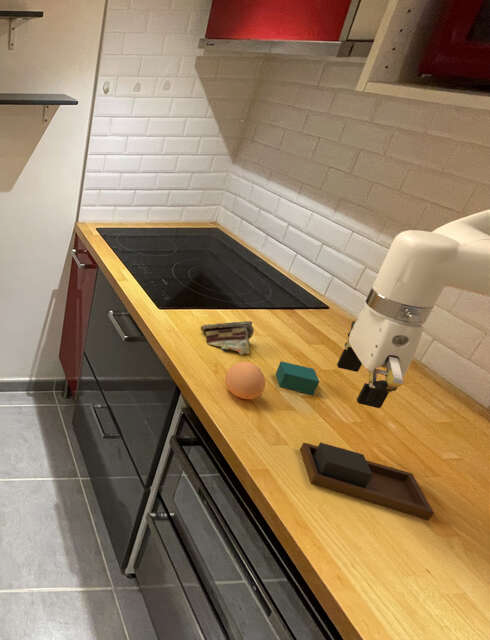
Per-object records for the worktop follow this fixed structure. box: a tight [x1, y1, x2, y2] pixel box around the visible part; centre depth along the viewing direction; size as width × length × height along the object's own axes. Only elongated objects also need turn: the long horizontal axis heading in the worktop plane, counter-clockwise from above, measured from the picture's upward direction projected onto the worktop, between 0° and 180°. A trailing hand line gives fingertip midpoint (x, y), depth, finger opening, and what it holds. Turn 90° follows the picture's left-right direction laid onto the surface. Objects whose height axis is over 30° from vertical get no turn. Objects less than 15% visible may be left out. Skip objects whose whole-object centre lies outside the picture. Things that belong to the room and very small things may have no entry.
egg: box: [224, 360, 266, 400], centre depth 98 cm, size 7×7×8 cm
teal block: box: [275, 360, 320, 396], centre depth 102 cm, size 6×5×4 cm
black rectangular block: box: [313, 442, 373, 488], centre depth 80 cm, size 6×5×4 cm
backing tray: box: [299, 442, 435, 521], centre depth 80 cm, size 16×8×2 cm, turn 66°
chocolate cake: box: [200, 320, 255, 356], centre depth 115 cm, size 10×7×12 cm
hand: (356, 385), depth 80 cm, fingers open, 9 cm apart
